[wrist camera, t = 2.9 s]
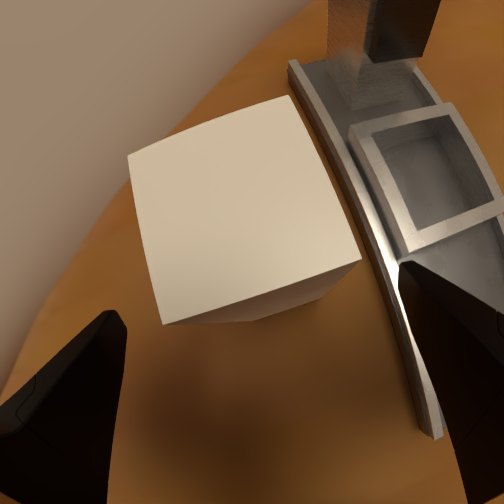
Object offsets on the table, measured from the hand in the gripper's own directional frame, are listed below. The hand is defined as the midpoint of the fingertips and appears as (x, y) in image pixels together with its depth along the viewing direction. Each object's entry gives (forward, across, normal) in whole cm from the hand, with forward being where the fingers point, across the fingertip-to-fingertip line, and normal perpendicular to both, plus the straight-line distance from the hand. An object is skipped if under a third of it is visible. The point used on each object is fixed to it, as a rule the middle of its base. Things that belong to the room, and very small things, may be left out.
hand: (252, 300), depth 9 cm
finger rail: (+9, -10, +4) cm, 14 cm away
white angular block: (+8, 0, +5) cm, 9 cm away
